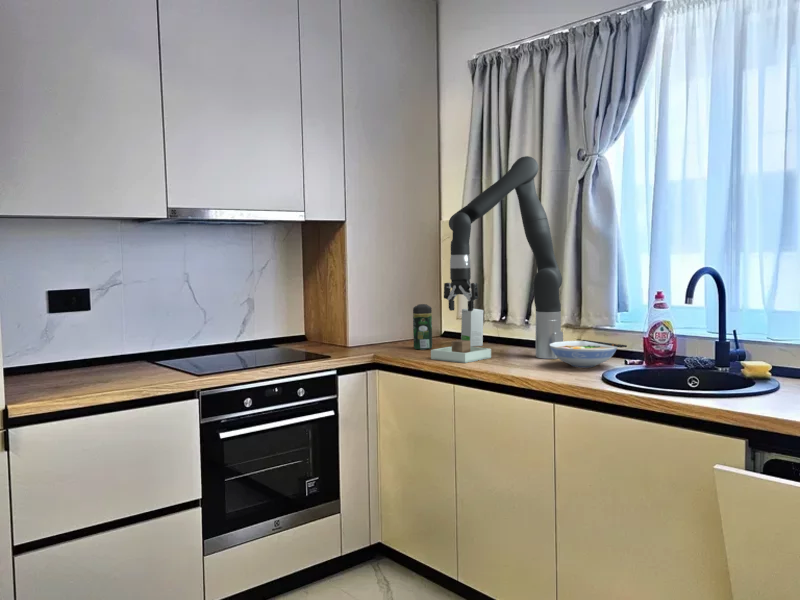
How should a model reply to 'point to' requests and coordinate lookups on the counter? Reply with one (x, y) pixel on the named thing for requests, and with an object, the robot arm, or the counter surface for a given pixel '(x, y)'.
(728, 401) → the counter surface
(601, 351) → the ramen bowl
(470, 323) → the skincare box
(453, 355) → the sage tray
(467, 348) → the walnut block
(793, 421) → the counter surface
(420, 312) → the coffee jar
